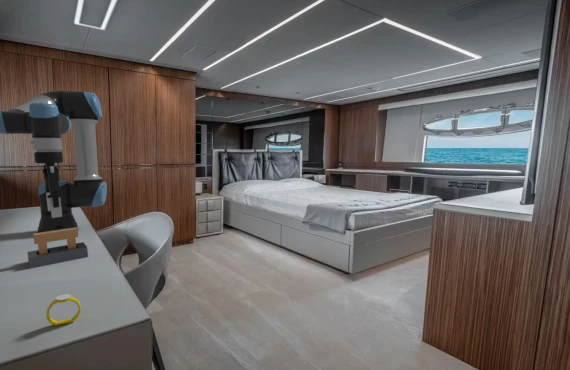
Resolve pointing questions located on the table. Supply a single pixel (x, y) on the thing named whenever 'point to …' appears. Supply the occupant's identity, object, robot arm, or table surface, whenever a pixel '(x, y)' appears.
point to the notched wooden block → (55, 238)
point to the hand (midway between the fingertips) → (54, 213)
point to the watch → (59, 300)
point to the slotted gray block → (57, 255)
